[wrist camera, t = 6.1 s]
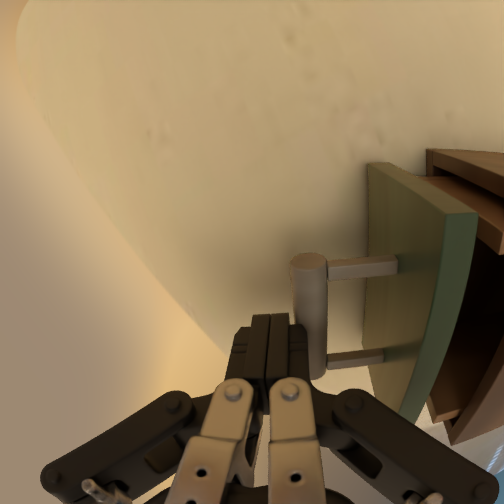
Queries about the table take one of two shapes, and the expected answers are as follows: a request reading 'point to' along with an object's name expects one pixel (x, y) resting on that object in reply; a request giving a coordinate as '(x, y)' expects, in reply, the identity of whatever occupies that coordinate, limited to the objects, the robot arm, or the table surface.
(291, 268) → the drawer
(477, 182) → the cabinet
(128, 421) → the robot arm
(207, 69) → the table surface
